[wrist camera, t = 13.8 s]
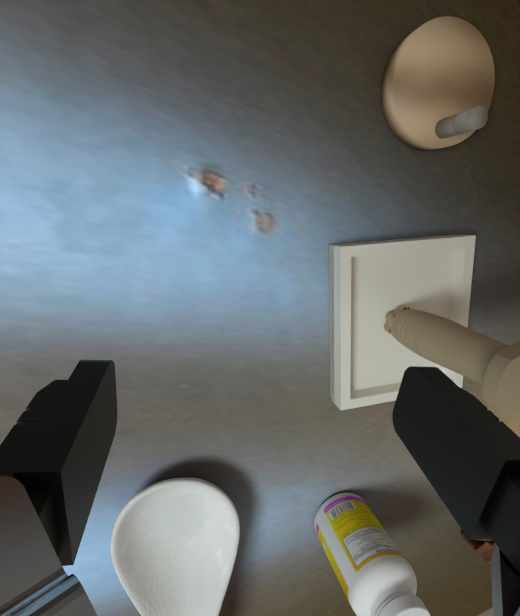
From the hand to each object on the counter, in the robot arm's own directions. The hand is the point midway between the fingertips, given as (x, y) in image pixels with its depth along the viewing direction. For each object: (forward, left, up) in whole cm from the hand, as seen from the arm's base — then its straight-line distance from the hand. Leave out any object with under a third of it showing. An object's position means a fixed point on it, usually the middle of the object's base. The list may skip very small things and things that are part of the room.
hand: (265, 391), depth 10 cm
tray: (+7, +19, -24) cm, 31 cm away
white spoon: (+30, -4, -24) cm, 39 cm away
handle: (+7, +19, -23) cm, 31 cm away
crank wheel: (-14, +22, -24) cm, 36 cm away
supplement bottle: (+30, +13, -24) cm, 40 cm away
